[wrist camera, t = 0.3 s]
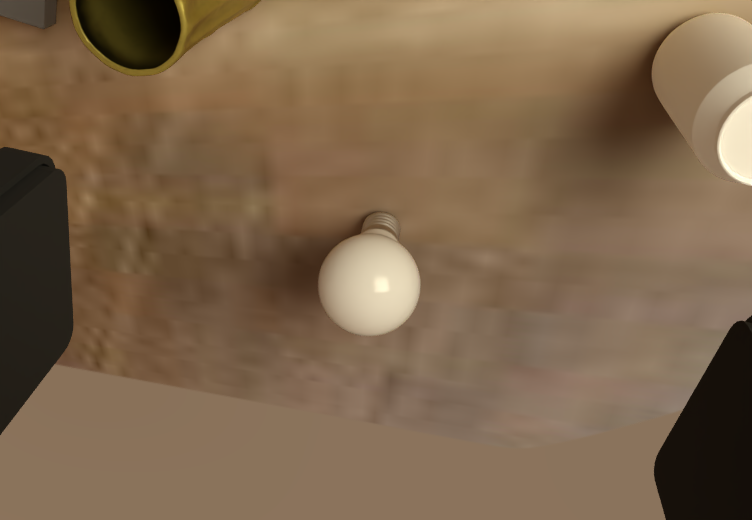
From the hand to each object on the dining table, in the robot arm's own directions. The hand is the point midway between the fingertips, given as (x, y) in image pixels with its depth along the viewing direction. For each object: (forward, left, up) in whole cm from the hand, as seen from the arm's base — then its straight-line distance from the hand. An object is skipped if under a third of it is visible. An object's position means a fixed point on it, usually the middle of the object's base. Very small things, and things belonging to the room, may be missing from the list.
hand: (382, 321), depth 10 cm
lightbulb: (+19, +2, -37) cm, 41 cm away
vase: (+5, -12, -37) cm, 39 cm away
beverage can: (+2, +17, -37) cm, 40 cm away
